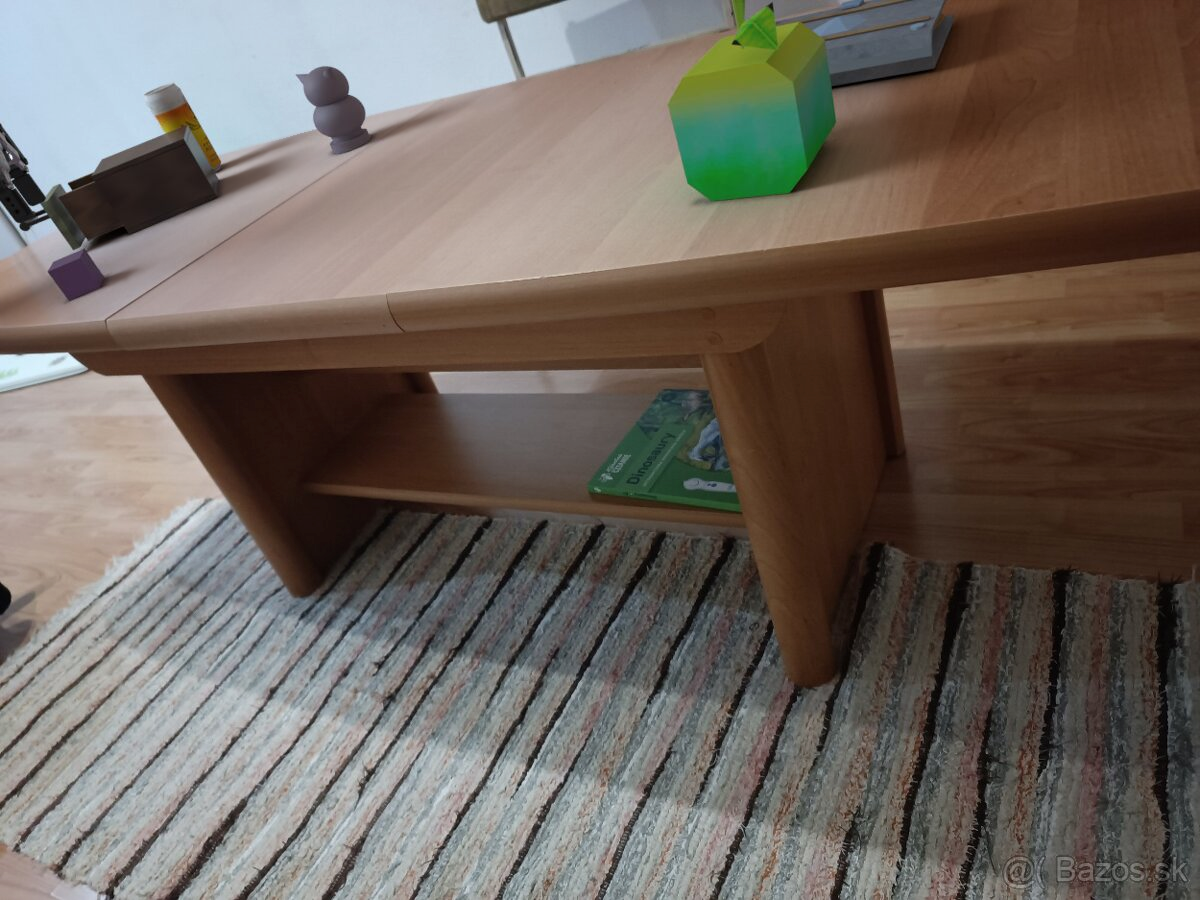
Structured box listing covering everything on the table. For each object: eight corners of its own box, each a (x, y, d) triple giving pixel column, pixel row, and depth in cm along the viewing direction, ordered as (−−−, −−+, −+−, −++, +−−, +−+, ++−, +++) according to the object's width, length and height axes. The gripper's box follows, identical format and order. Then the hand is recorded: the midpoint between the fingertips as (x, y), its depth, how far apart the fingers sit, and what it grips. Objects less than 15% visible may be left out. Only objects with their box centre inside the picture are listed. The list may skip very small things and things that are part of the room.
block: (68, 301, 115) (47, 271, 113) (73, 290, 119) (52, 261, 116) (100, 287, 116) (79, 258, 113) (104, 277, 119) (84, 248, 117)
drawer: (40, 264, 134) (5, 217, 129) (53, 243, 143) (21, 199, 139) (156, 215, 136) (126, 168, 132) (161, 198, 145) (133, 153, 141)
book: (730, 110, 95) (720, 63, 92) (770, 58, 106) (763, 15, 103) (933, 76, 85) (929, 22, 82) (954, 22, 96) (952, -27, 93)
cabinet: (129, 234, 135) (90, 176, 130) (136, 214, 146) (101, 159, 140) (217, 197, 137) (183, 138, 132) (219, 180, 148) (187, 124, 142)
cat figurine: (387, 131, 138) (352, 53, 131) (356, 152, 133) (319, 72, 126) (349, 137, 143) (314, 63, 136) (318, 158, 138) (280, 81, 131)
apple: (692, 203, 78) (648, 28, 69) (727, 157, 84) (691, -9, 76) (810, 190, 72) (779, -1, 64) (839, 142, 79) (814, -38, 70)
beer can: (226, 168, 153) (177, 82, 145) (193, 182, 152) (142, 97, 143) (221, 163, 158) (174, 80, 150) (189, 177, 157) (140, 94, 148)
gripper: (-74, 89, 107) (16, 210, 116) (-111, 106, 96) (-8, 238, 105) (-15, 65, 108) (69, 187, 117) (-45, 79, 97) (52, 213, 106)
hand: (33, 211), depth 111 cm, fingers open, 8 cm apart
